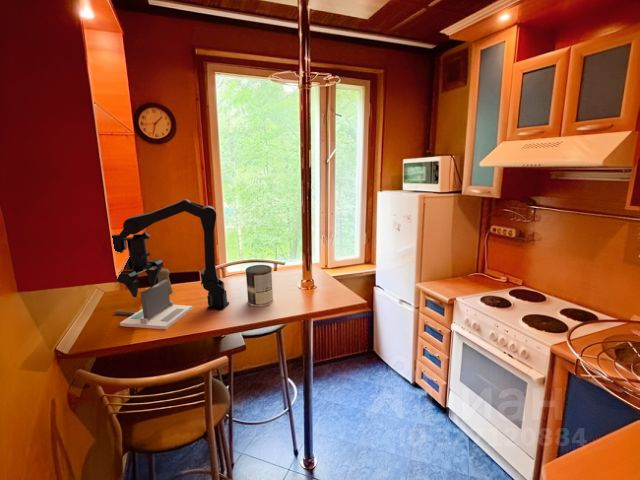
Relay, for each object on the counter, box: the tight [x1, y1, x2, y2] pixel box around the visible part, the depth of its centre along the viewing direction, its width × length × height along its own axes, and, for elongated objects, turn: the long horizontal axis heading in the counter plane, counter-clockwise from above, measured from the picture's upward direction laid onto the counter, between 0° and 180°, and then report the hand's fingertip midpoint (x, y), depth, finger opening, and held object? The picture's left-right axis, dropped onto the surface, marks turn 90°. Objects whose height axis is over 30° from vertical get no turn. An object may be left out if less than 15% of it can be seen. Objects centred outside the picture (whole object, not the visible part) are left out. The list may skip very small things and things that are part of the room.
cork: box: [157, 268, 174, 296], centre depth 150 cm, size 6×6×11 cm
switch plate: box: [114, 300, 194, 330], centre depth 128 cm, size 27×17×3 cm, turn 80°
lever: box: [140, 280, 171, 320], centre depth 127 cm, size 2×14×11 cm, turn 169°
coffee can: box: [245, 264, 274, 308], centre depth 139 cm, size 10×10×14 cm
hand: (143, 292), depth 127 cm, fingers open, 9 cm apart
